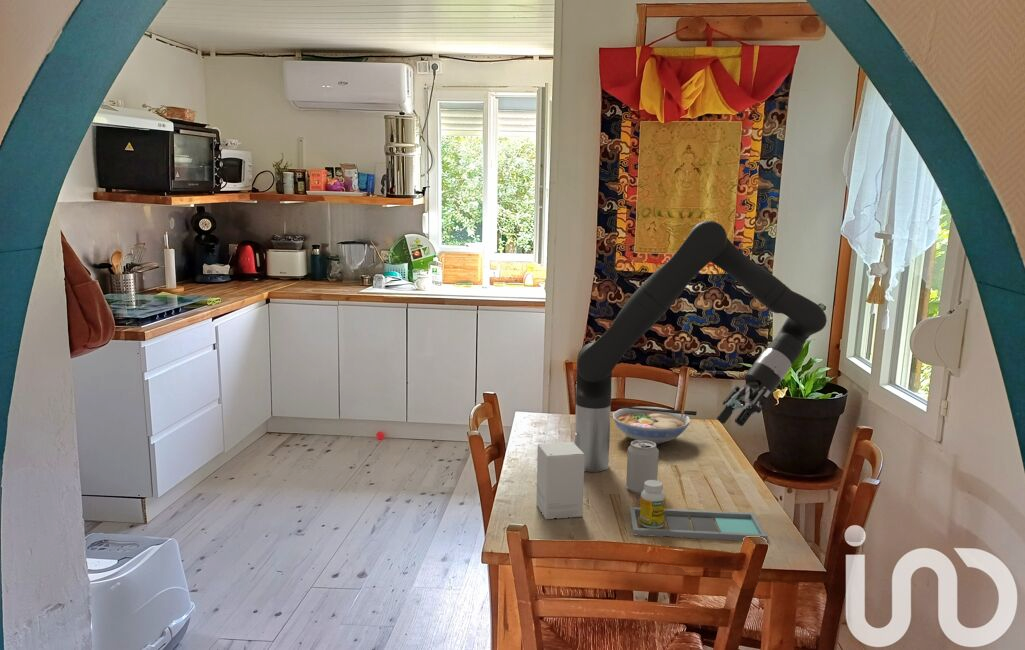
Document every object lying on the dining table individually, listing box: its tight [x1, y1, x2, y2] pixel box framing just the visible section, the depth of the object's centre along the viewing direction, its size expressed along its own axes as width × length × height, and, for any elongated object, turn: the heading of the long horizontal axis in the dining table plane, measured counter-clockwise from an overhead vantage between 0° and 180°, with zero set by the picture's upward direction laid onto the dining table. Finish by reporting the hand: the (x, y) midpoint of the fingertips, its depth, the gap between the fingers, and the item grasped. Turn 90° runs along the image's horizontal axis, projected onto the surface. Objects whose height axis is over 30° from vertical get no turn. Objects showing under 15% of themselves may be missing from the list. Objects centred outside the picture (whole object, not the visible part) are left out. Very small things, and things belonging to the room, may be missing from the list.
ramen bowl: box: [612, 405, 697, 445], centre depth 223 cm, size 25×23×8 cm
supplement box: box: [536, 441, 585, 520], centre depth 172 cm, size 9×9×15 cm
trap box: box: [628, 506, 769, 541], centre depth 166 cm, size 28×12×1 cm, turn 86°
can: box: [625, 439, 660, 495], centre depth 185 cm, size 8×8×12 cm
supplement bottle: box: [639, 479, 666, 529], centre depth 166 cm, size 5×5×10 cm
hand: (728, 422), depth 179 cm, fingers open, 8 cm apart
